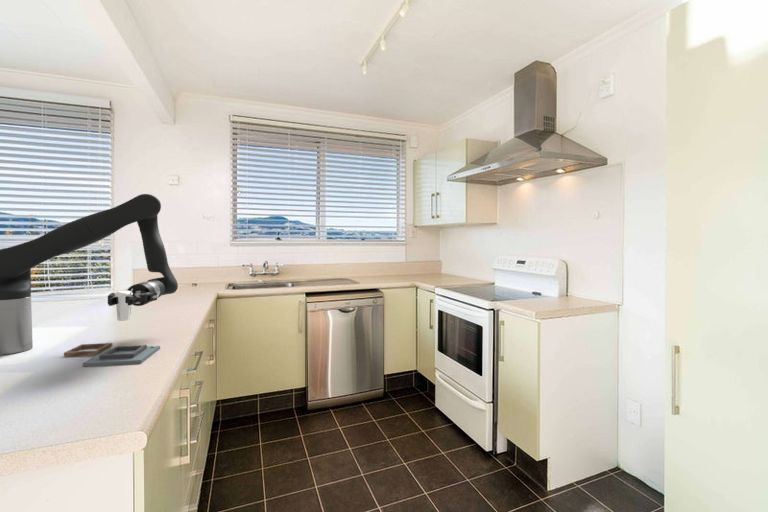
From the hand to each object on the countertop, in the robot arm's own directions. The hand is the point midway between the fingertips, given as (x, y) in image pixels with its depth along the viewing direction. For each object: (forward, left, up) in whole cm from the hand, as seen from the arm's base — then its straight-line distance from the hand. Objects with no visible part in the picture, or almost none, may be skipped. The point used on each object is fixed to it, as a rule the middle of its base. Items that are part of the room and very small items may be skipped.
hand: (119, 302), depth 106 cm
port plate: (0, +2, -18) cm, 18 cm away
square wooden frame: (-14, +10, -18) cm, 25 cm away
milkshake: (0, +3, -6) cm, 7 cm away
